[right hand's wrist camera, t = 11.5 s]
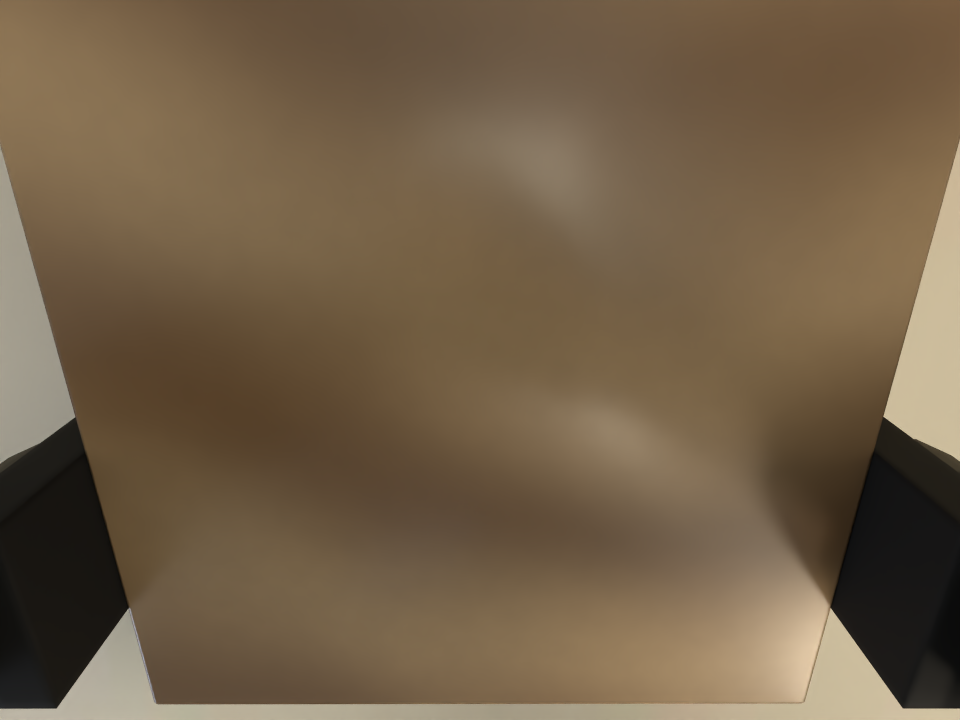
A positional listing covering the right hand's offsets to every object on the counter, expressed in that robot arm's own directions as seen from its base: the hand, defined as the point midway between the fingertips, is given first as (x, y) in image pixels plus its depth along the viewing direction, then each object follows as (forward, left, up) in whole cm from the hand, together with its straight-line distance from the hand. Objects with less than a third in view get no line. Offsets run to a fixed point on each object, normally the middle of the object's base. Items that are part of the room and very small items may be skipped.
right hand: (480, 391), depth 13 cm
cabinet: (+6, -4, -5) cm, 8 cm away
